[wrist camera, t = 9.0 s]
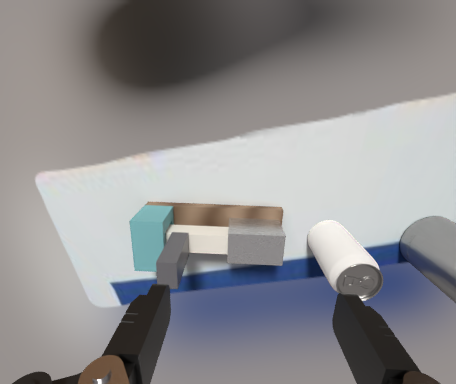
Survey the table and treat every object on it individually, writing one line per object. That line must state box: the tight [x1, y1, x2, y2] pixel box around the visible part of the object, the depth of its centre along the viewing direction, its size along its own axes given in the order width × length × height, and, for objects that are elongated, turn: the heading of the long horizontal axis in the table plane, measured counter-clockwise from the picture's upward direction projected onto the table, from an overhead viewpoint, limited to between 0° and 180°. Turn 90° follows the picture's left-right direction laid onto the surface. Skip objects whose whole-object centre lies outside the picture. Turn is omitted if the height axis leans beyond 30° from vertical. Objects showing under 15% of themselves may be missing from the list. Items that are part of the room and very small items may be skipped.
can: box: [307, 220, 383, 301], centre depth 36 cm, size 6×6×12 cm
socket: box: [130, 205, 174, 272], centre depth 37 cm, size 4×8×6 cm, turn 178°
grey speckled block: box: [227, 218, 286, 266], centre depth 37 cm, size 8×5×5 cm, turn 88°
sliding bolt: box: [156, 225, 229, 289], centre depth 34 cm, size 14×4×10 cm, turn 88°
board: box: [146, 202, 283, 227], centre depth 41 cm, size 22×8×2 cm, turn 88°
